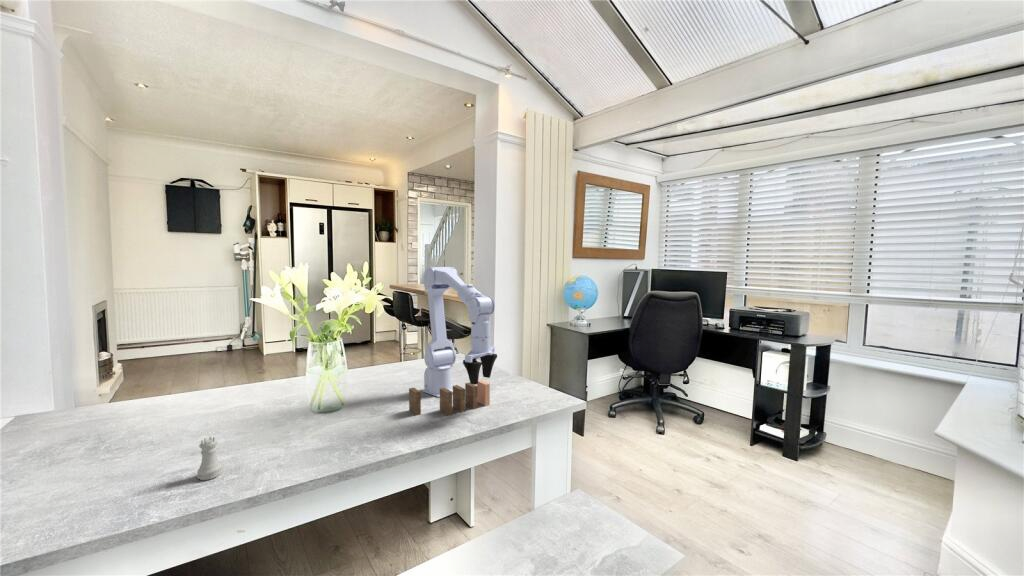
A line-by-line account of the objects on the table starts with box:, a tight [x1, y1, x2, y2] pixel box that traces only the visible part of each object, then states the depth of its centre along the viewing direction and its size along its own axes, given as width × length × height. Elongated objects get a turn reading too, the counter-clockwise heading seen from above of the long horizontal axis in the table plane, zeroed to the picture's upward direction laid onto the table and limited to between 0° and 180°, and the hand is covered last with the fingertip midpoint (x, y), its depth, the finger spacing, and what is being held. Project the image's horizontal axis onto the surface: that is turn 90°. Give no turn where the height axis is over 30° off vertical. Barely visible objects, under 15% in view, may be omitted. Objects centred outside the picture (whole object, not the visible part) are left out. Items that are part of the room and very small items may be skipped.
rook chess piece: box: [196, 436, 223, 481], centre depth 87 cm, size 4×4×8 cm
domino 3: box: [452, 384, 466, 413], centre depth 127 cm, size 2×5×7 cm, turn 37°
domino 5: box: [476, 379, 491, 407], centre depth 132 cm, size 2×5×7 cm, turn 36°
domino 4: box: [464, 381, 479, 410], centre depth 130 cm, size 2×5×7 cm, turn 37°
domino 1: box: [408, 387, 422, 416], centre depth 124 cm, size 2×5×7 cm, turn 36°
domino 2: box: [439, 388, 453, 416], centre depth 124 cm, size 2×5×7 cm, turn 36°
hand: (480, 380), depth 124 cm, fingers open, 7 cm apart
